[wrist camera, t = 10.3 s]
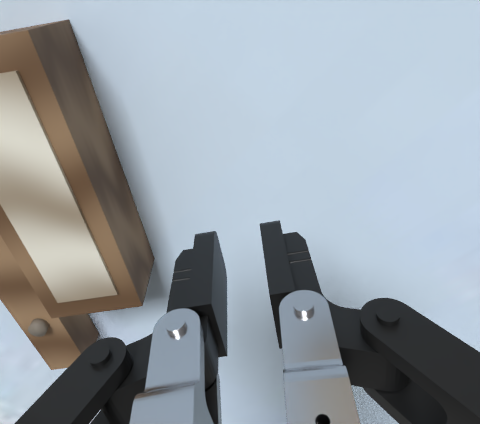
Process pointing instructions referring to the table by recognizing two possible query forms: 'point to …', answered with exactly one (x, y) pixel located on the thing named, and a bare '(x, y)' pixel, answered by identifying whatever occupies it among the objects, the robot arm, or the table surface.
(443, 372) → the robot arm
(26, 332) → the walnut rail
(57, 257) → the walnut frame
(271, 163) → the table surface
